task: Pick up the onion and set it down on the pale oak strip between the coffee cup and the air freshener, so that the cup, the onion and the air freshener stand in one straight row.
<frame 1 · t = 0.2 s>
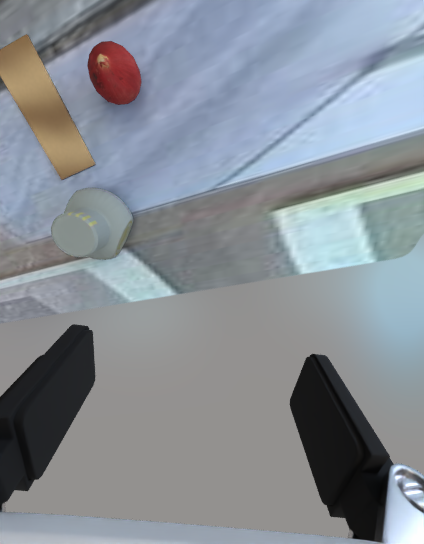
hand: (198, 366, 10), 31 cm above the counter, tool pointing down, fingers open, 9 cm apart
air freshener: (107, 221, 39), on the counter
onion: (126, 86, 32), on the counter
row strip: (47, 114, 33), on the counter
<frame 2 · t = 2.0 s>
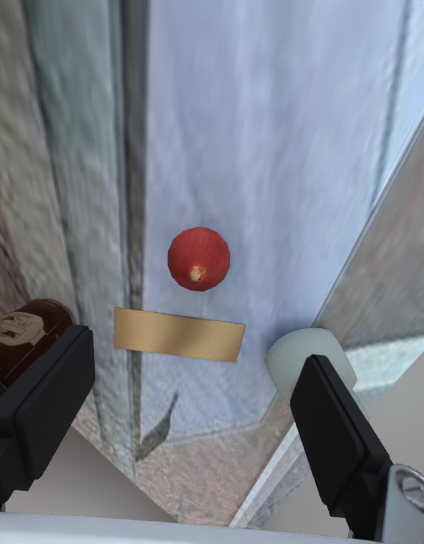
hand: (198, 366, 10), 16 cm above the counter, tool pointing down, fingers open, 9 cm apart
coffee cup: (49, 318, 29), on the counter
air freshener: (300, 350, 31), on the counter
onion: (200, 247, 25), on the counter
row strip: (178, 335, 30), on the counter
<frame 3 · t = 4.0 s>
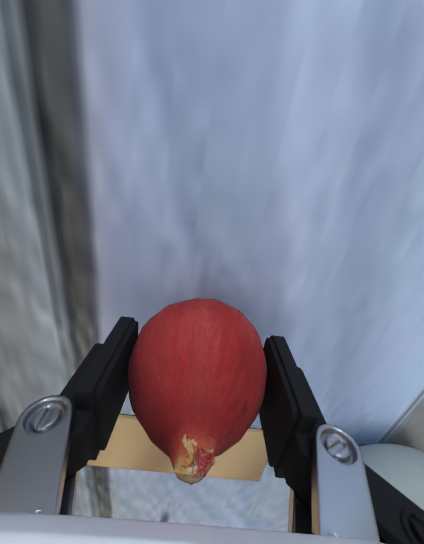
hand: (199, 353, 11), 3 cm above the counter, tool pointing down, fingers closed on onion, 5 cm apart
air freshener: (362, 462, 19), on the counter
onion: (202, 315, 14), on the counter, touching gripper
row strip: (166, 445, 18), on the counter
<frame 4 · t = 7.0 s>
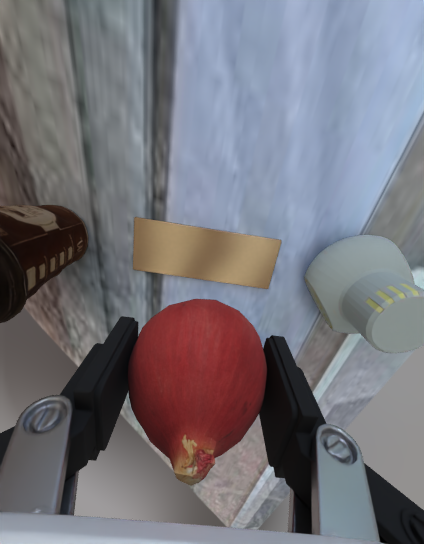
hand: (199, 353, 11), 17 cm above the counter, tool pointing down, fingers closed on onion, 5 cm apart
coffee cup: (60, 232, 26), on the counter
air freshener: (340, 274, 28), on the counter
onion: (202, 316, 14), point 13 cm above the counter, touching gripper
row strip: (205, 254, 26), on the counter
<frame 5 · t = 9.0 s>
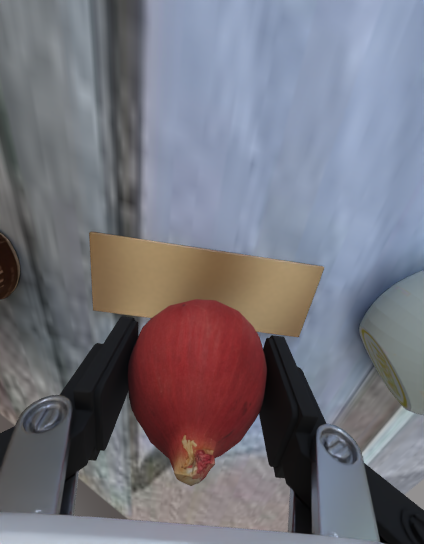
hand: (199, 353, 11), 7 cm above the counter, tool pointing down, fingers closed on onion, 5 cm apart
air freshener: (408, 315, 18), on the counter
onion: (202, 316, 14), point 4 cm above the counter, touching gripper
row strip: (204, 288, 17), on the counter
when the fingers open (3 cm above the counter, at t = 10.4 s): onion stays where it is, resting on row strip.
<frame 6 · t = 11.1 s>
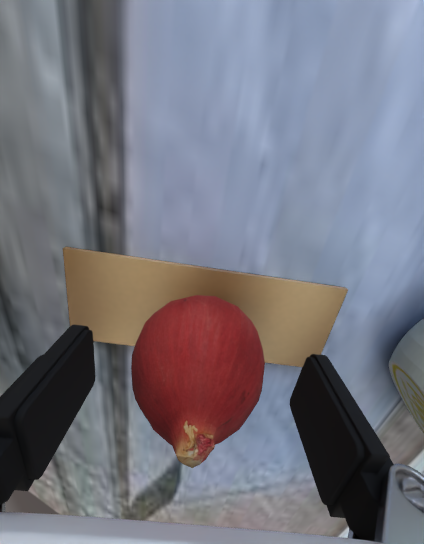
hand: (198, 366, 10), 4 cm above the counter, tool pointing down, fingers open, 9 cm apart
onion: (202, 313, 14), resting on row strip
row strip: (203, 312, 14), on the counter
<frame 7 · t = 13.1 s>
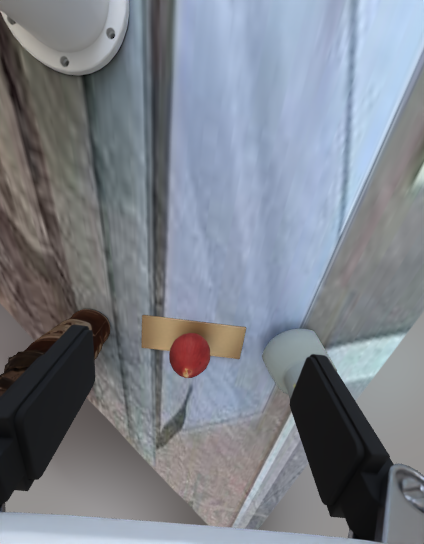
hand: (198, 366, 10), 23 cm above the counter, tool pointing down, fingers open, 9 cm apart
coffee cup: (91, 324, 37), on the counter
air freshener: (292, 348, 38), on the counter
onion: (192, 337, 37), resting on row strip
row strip: (192, 337, 37), on the counter
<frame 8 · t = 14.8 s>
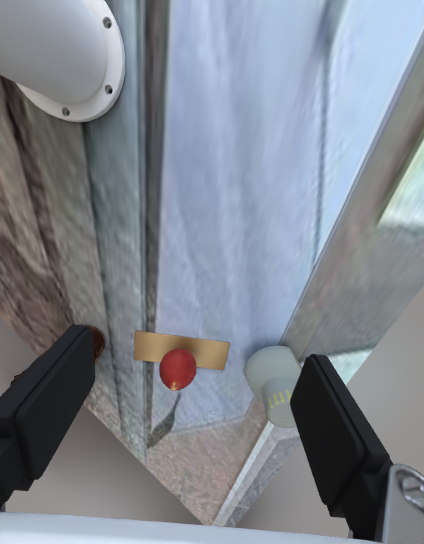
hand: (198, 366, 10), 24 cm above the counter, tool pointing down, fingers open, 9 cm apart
coffee cup: (87, 338, 40), on the counter
air freshener: (271, 360, 42), on the counter
onion: (181, 350, 40), resting on row strip
row strip: (181, 350, 41), on the counter
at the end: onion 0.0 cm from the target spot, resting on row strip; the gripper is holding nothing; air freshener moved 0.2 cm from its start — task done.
